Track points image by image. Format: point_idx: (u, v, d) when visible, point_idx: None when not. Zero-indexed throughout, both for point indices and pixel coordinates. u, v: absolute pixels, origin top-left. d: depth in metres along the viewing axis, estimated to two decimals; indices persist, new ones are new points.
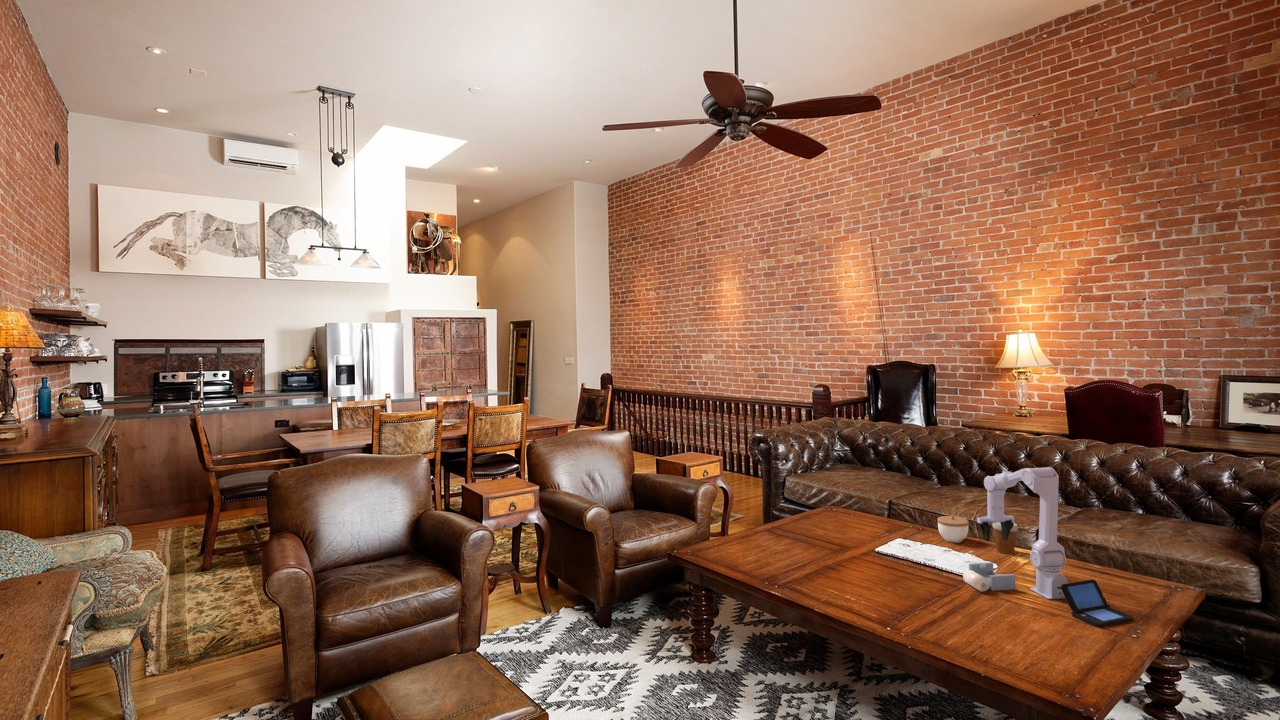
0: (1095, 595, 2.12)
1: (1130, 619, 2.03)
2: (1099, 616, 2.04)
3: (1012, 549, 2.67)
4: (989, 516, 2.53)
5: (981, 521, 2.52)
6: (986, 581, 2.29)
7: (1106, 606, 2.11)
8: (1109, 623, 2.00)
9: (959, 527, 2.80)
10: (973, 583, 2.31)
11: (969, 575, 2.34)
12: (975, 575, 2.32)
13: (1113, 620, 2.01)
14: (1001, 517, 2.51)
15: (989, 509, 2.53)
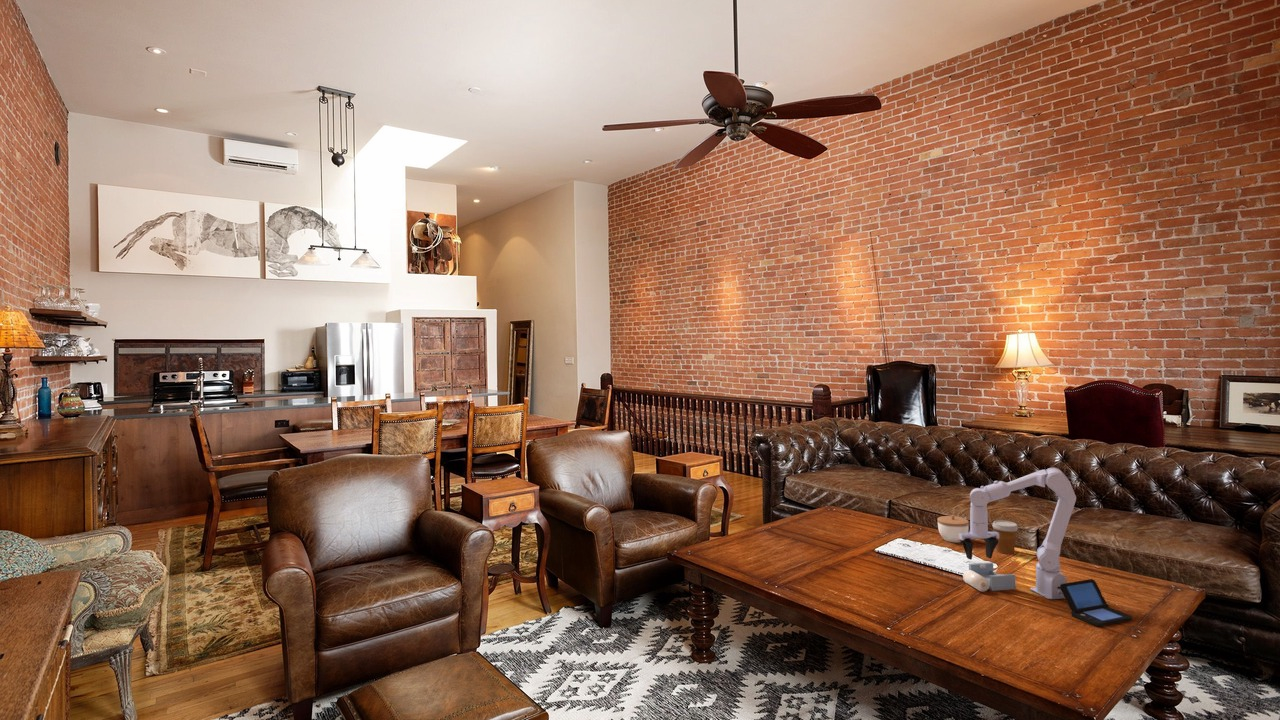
0: (1094, 595, 2.13)
1: (1129, 619, 2.03)
2: (1098, 616, 2.04)
3: (1012, 549, 2.67)
4: (972, 532, 2.35)
5: (963, 538, 2.34)
6: (986, 581, 2.29)
7: (1105, 606, 2.11)
8: (1108, 623, 2.01)
9: (959, 527, 2.80)
10: (973, 583, 2.31)
11: (969, 575, 2.34)
12: (975, 575, 2.32)
13: (1112, 620, 2.02)
14: (984, 533, 2.33)
15: (972, 525, 2.35)
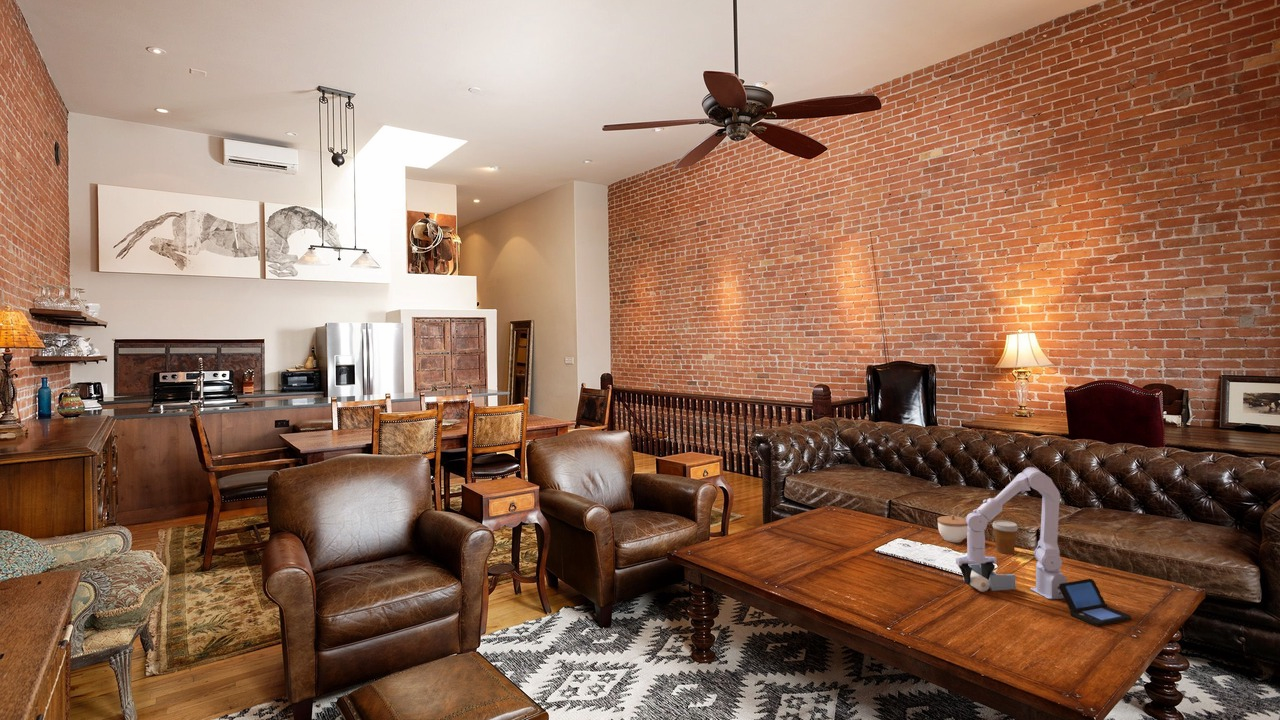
0: (1093, 594, 2.13)
1: (1128, 618, 2.04)
2: (1097, 616, 2.05)
3: (1012, 549, 2.67)
4: (969, 557, 2.32)
5: (960, 563, 2.31)
6: (986, 581, 2.29)
7: (1104, 605, 2.12)
8: (1107, 622, 2.01)
9: (959, 527, 2.80)
10: (973, 583, 2.31)
11: None
12: (975, 575, 2.32)
13: (1111, 619, 2.02)
14: (982, 559, 2.30)
15: (969, 550, 2.32)
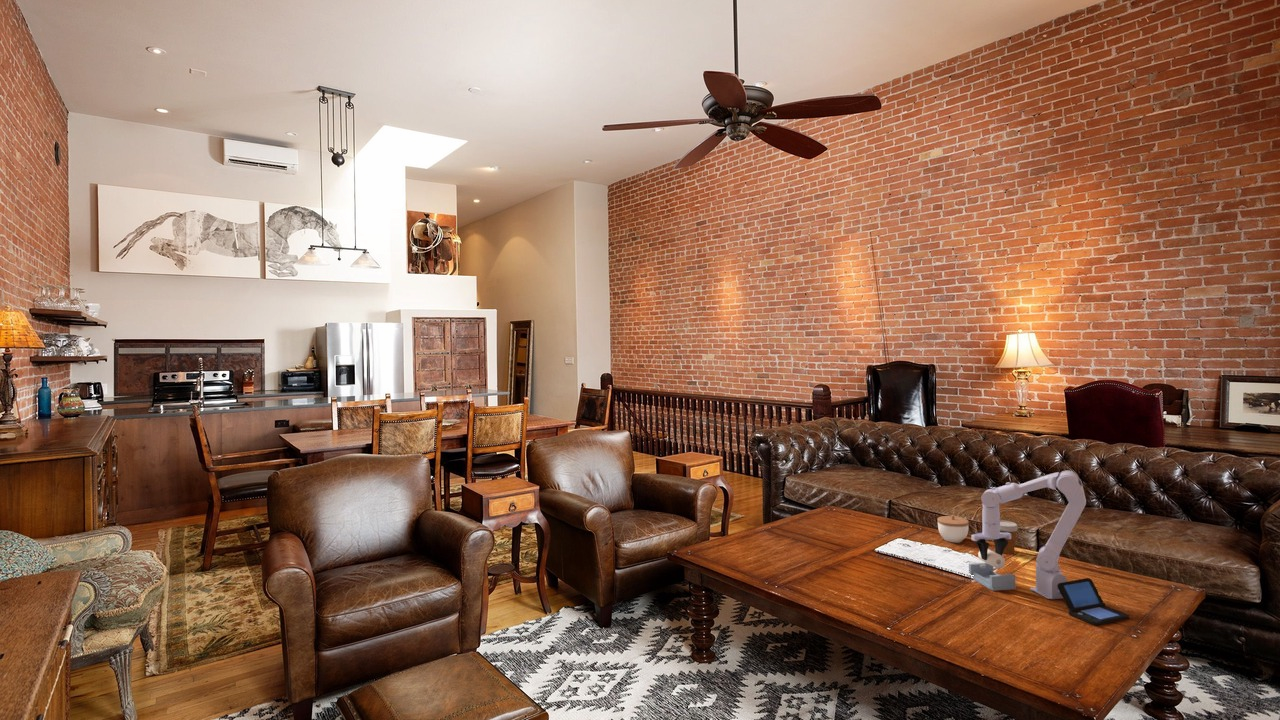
0: (1091, 593, 2.14)
1: (1126, 617, 2.04)
2: (1095, 615, 2.05)
3: (1012, 549, 2.67)
4: (984, 533, 2.36)
5: (975, 539, 2.35)
6: (1002, 559, 2.33)
7: (1102, 604, 2.12)
8: (1106, 621, 2.02)
9: (959, 527, 2.80)
10: (988, 559, 2.34)
11: None
12: (991, 552, 2.36)
13: (1109, 618, 2.03)
14: (997, 534, 2.34)
15: (984, 526, 2.36)
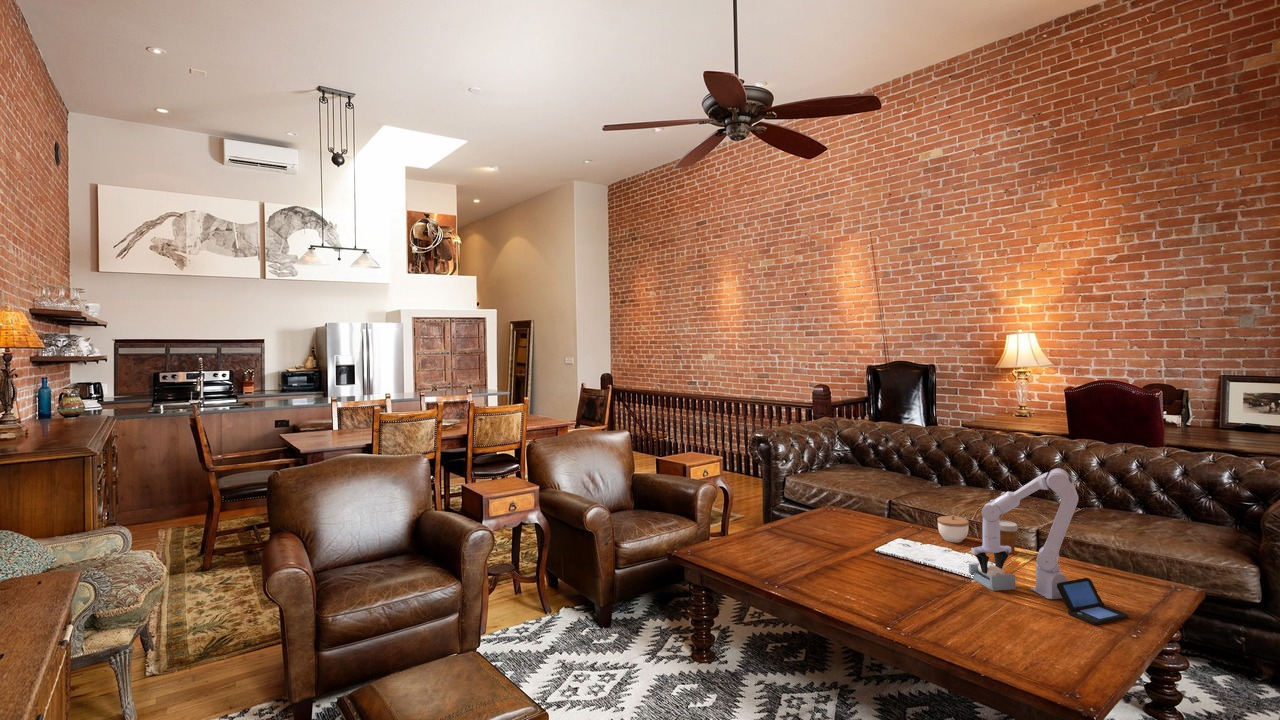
0: (1090, 593, 2.14)
1: (1125, 617, 2.05)
2: (1095, 614, 2.05)
3: (1012, 549, 2.67)
4: (984, 547, 2.36)
5: (976, 552, 2.35)
6: (1002, 572, 2.33)
7: (1101, 604, 2.13)
8: (1105, 621, 2.02)
9: (959, 527, 2.80)
10: (988, 572, 2.34)
11: None
12: (991, 565, 2.36)
13: (1109, 618, 2.03)
14: (997, 548, 2.34)
15: (984, 539, 2.36)
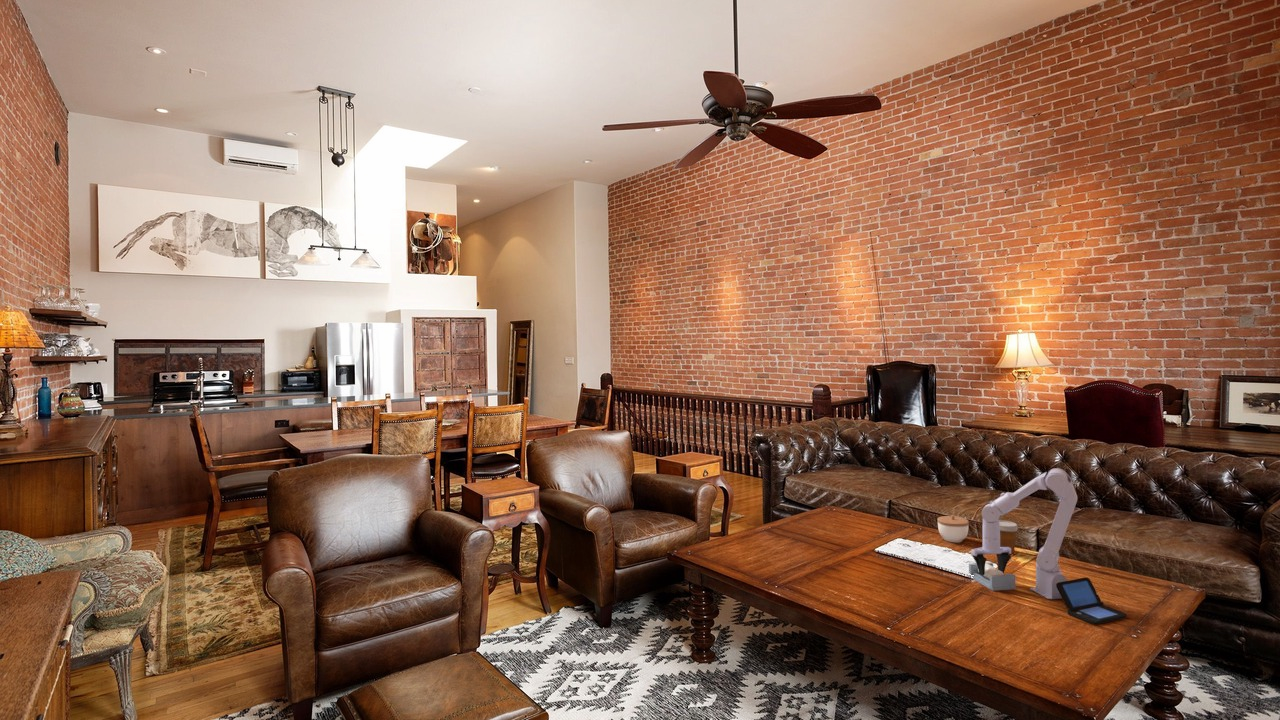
0: (1089, 593, 2.14)
1: (1124, 616, 2.05)
2: (1094, 614, 2.06)
3: (1012, 549, 2.67)
4: (984, 548, 2.36)
5: (976, 553, 2.35)
6: None
7: (1100, 604, 2.13)
8: (1104, 621, 2.02)
9: (959, 527, 2.80)
10: (988, 574, 2.35)
11: (985, 567, 2.37)
12: (991, 567, 2.36)
13: (1108, 618, 2.03)
14: (997, 549, 2.34)
15: (984, 540, 2.36)
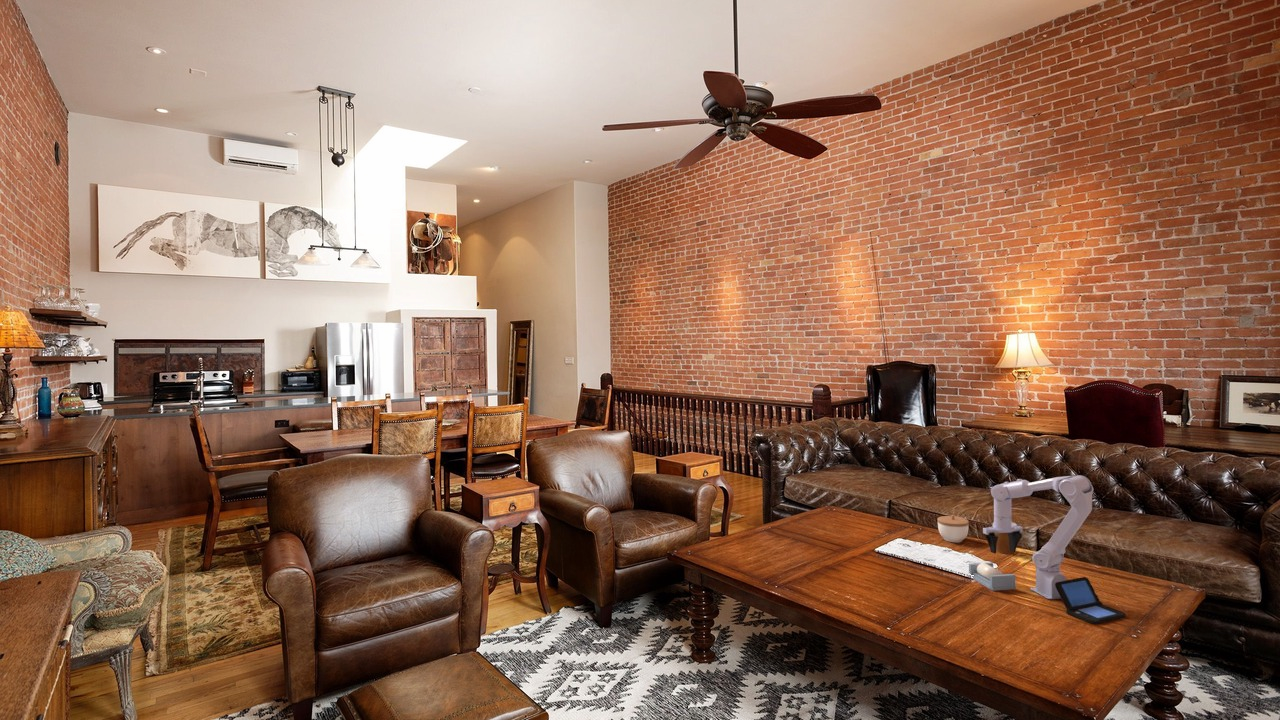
0: (1088, 592, 2.15)
1: (1123, 616, 2.06)
2: (1093, 614, 2.06)
3: None
4: (996, 527, 2.38)
5: (987, 532, 2.37)
6: (1000, 573, 2.33)
7: (1098, 603, 2.13)
8: (1103, 620, 2.03)
9: (959, 527, 2.80)
10: (987, 576, 2.34)
11: (983, 568, 2.37)
12: (988, 568, 2.36)
13: (1107, 617, 2.04)
14: (1009, 528, 2.36)
15: (996, 519, 2.38)
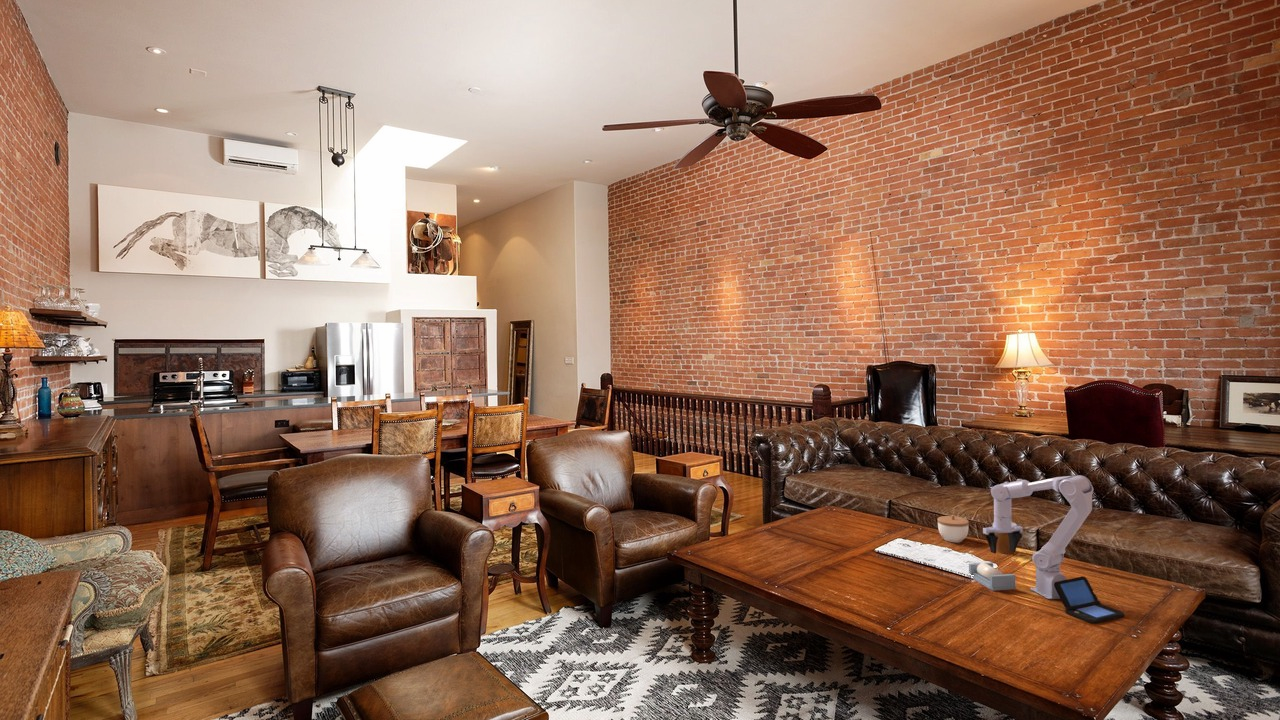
0: (1086, 592, 2.15)
1: (1121, 615, 2.06)
2: (1092, 613, 2.07)
3: None
4: (996, 527, 2.38)
5: (987, 532, 2.37)
6: (1000, 573, 2.33)
7: (1097, 602, 2.14)
8: (1102, 619, 2.03)
9: (959, 527, 2.80)
10: (987, 576, 2.34)
11: (983, 568, 2.37)
12: (988, 568, 2.36)
13: (1106, 616, 2.04)
14: (1009, 528, 2.36)
15: (996, 519, 2.38)
